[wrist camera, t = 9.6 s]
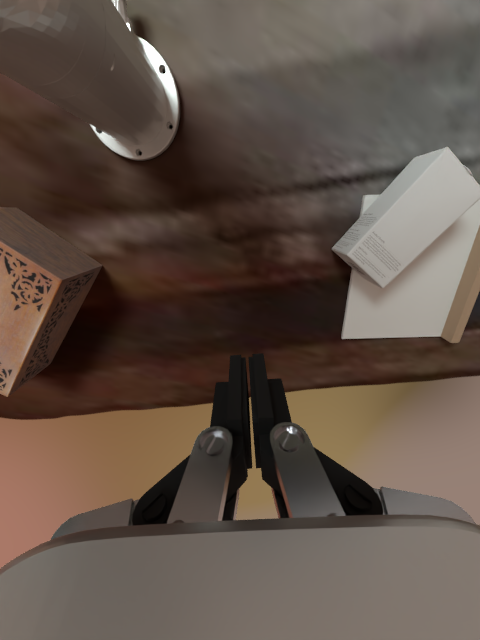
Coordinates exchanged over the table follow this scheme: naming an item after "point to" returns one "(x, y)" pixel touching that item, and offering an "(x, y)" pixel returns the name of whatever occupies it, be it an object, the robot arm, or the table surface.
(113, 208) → the table surface
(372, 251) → the skincare box
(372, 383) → the table surface
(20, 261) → the tissue box cover
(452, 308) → the white flat piece
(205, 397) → the table surface
